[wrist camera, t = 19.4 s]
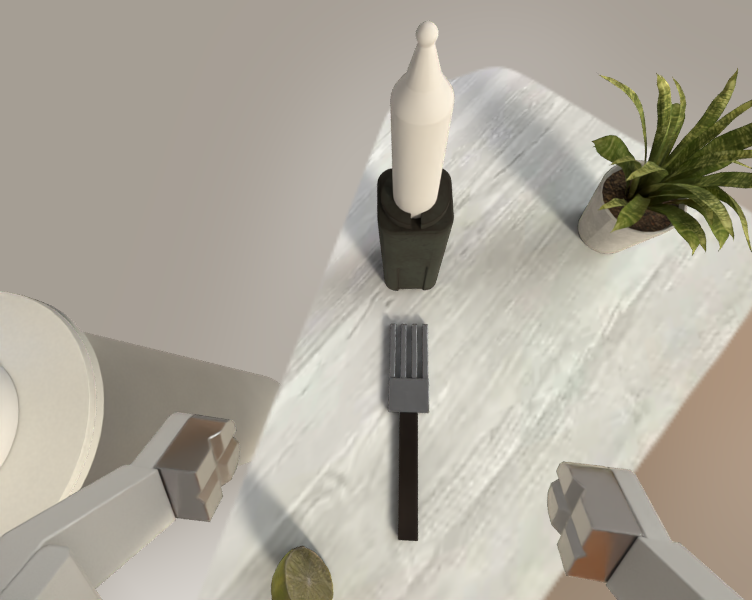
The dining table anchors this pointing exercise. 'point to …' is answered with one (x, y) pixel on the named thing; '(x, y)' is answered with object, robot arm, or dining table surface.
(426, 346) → the fork
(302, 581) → the lime
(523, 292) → the dining table surface
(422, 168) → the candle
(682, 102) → the house plant
